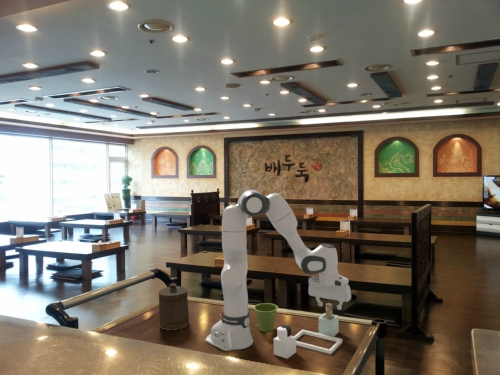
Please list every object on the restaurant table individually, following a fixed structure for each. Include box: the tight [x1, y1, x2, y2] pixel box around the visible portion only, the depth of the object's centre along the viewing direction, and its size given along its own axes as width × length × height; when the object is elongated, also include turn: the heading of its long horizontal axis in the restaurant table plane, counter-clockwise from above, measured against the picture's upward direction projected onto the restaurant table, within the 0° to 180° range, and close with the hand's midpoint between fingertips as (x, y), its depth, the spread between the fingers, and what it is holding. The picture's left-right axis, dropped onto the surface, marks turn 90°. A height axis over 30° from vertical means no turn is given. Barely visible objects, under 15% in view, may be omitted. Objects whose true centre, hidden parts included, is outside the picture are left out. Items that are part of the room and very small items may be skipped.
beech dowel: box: [325, 302, 333, 320], centre depth 195 cm, size 3×3×14 cm
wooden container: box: [158, 282, 190, 331], centre depth 213 cm, size 15×15×22 cm
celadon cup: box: [317, 312, 340, 337], centre depth 196 cm, size 7×7×9 cm
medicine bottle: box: [272, 324, 297, 360], centre depth 179 cm, size 7×7×12 cm
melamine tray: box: [294, 329, 343, 357], centre depth 187 cm, size 20×13×2 cm, turn 56°
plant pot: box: [253, 302, 279, 333], centre depth 205 cm, size 12×12×11 cm
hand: (329, 307), depth 195 cm, fingers open, 8 cm apart
